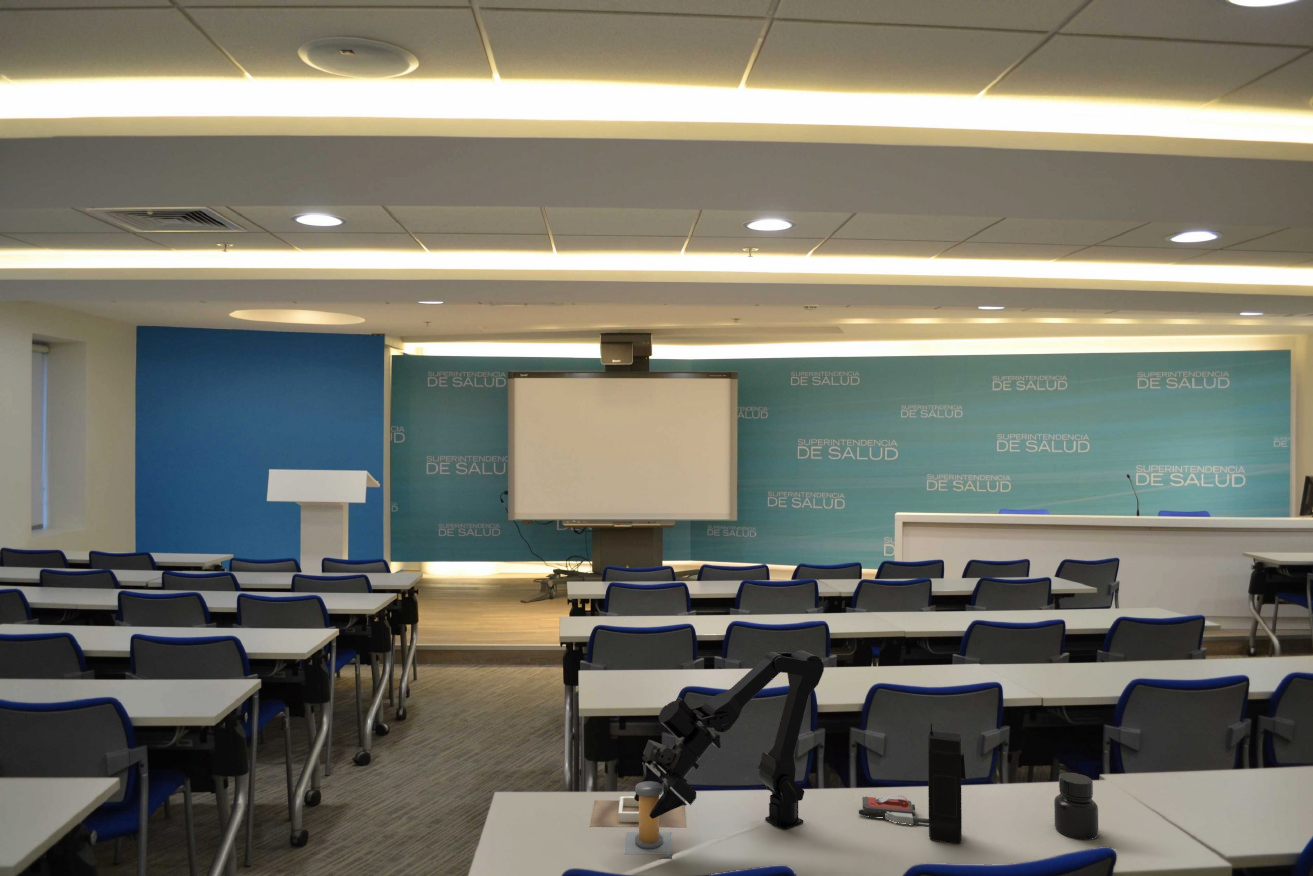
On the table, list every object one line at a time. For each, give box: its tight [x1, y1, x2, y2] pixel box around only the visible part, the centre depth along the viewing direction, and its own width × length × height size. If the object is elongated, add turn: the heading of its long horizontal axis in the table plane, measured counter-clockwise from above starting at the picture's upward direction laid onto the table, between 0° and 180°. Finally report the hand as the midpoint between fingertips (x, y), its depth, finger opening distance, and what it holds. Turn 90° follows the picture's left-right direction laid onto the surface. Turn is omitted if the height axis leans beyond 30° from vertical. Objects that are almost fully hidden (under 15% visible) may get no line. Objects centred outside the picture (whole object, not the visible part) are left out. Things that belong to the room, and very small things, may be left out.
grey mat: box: [624, 831, 673, 860], centre depth 173 cm, size 10×10×1 cm
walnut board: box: [589, 799, 687, 828], centre depth 188 cm, size 22×14×1 cm, turn 90°
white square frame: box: [618, 795, 639, 822], centre depth 188 cm, size 9×9×2 cm
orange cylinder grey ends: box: [635, 781, 664, 849], centre depth 174 cm, size 6×6×12 cm
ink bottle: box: [1053, 772, 1099, 840], centre depth 182 cm, size 10×9×12 cm
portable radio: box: [927, 723, 967, 845], centre depth 179 cm, size 8×6×25 cm
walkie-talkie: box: [858, 794, 929, 826], centre depth 189 cm, size 9×4×20 cm
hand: (643, 808), depth 173 cm, fingers open, 9 cm apart
